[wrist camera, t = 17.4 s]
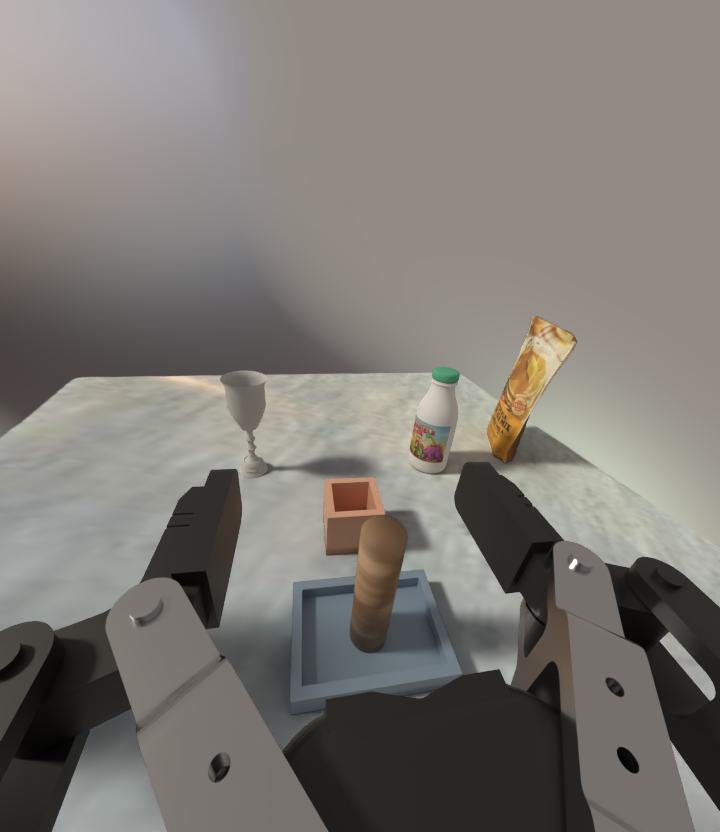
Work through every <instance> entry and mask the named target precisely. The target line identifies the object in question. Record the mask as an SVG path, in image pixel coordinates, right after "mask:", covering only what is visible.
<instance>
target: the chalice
mask: <svg viewBox="0 0 720 832" xmlns="http://www.w3.org/2000/svg"><path fill="white" fill-rule="evenodd" d="M220 380H221V382H222V383H223V385H224V386H225V392H226V399H227V406H228V409H229V411H230V413H231V415H232V417H233V418H234V420H235V421H236V423H237V424H238V425H239V427H240V428H241V429H242V430H245V431H247V437H246V440H247V442H248V446H247V447H246V449H247V450H248V451H249V456H247V457H246V458H245V459H244V460H243V461H242V464H241V467H240V469H239V473H240V474H241V476H243V477H246V478H256V477H259V476H262V475H263V474H265V473H266V471H267V469H268V467H267V465H266V464H265V462H264V461H263V458H261V457H260V456H258V455H255V453H254V451H255V449H256V446H255V445H254V443H253V442H254V440H255V437H254V436H253V433H252V431H253V430H255V429H256V428H257V427H258V425H259V423H260V421H261V418H262V416H263V413H264V410H265V405H266V403H265V390H264V384H265V382H266V380H267V377H266V376H265V375H264V374H262V373H258V372H254V371H235V372H230V373H227V374H225V375H223V376H222V377H221V379H220Z"/></svg>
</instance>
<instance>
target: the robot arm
mask: <svg viewBox="0 0 720 832" xmlns="http://www.w3.org/2000/svg"><path fill="white" fill-rule="evenodd" d="M454 500H455V506H456V509H457V511H458V513H459V514H460V516H461V518H462V520H463V521H464V523H465V525H466V526H467V528H468V530H469V532H470V533H471V535H472V537H473V539H474V540H475V542H476V544H477V545H478V547H479V549H480V551H481V552H482V554H483V556H484V558H485V559H486V561H487V563H488V564H489V566H490V568H491V570H492V571H493V573H494V575H495V576H496V578H497V580H498V582H499V583H500V585H501V587H502V589H503V590H504V592H505V594H507V593H515V592H520V593H521V594H522V596H523V597H524V598H523V600H522V602H521V606H520V623H519V641H518V659H517V666H516V671H515V674H514V676H513V680H512V683H511V685H508V684H506V683H505V681H504V679H503V676H502V674H501V672H500V670H499V669H497V670H492V671H486V672H480V673H475V674H469V675H463V676H459V677H458V678H456V679H454V680H453V681H451V682H449V683H448V684H446V685H444V686H443V687H441V688H439V689H438V690H436V691H434V692H433V693H431V694H429V695H428V696H426V697H424V698H421V699H416V698H410V697H404V696H397V695H391V694H385V693H379V692H373V691H371V692H366V693H360V694H354V695H348V696H343V697H337V698H331V699H326V701H325V712H324V714H323V715H322V716H320V717H318V718H316V719H315V720H313V721H312V722H310V723H309V724H308V725H307V726H305V727H304V728H303V729H302V730H301V731H300V732H299V733H298V734H297V735H296V736H295V737H294V738H293V739H292V740H291V741H290V742H289V743H288V745H287V746H286V747H285V748H284V750H283V751H281V749H280V748H279V746H278V744H277V742H276V741H275V739H274V737H273V736H272V734H271V732H270V730H269V729H268V727H267V725H266V724H265V722H264V720H263V718H262V717H261V715H260V713H259V712H258V710H257V708H256V706H255V705H254V703H253V701H252V700H251V698H250V696H249V694H248V693H247V691H246V689H245V688H244V686H243V684H242V682H241V681H240V679H239V677H238V675H237V674H236V672H235V670H234V669H233V667H232V665H231V664H230V662H229V661H228V660H227V658H226V657H225V656H221V654H220V653H219V652H218V650H217V648H216V647H215V645H214V643H213V641H212V640H211V638H210V636H209V634H208V633H207V631H206V629H210V628H218V627H219V625H220V621H221V616H222V611H223V606H224V601H225V597H226V592H227V587H228V582H229V577H230V572H231V568H232V563H233V558H234V553H235V548H236V544H237V539H238V534H239V529H240V524H241V517H242V502H241V494H240V486H239V478H238V472H237V469H221V470H211V471H210V473H209V476H208V478H207V481H206V483H205V486H204V487H192V488H191V489H190V490H189V491H187V492H186V493H185V494H184V495H183V496H182V497H181V498H180V499H179V501H178V503H177V505H176V507H175V510H174V512H173V516H172V517H171V518H170V520H169V523H168V525H167V529H165V531H164V533H163V535H162V538H161V540H160V542H159V544H158V546H157V548H156V551H155V553H154V555H153V557H152V559H151V561H150V564H149V566H148V568H147V570H146V572H145V574H144V576H143V578H142V580H141V582H140V583H139V584H138V585H136V586H134V587H133V588H131V589H130V590H128V591H127V592H126V593H125V594H123V595H122V596H121V597H120V598H119V599H118V601H117V602H116V603H115V604H114V606H113V607H112V608H111V609H109V610H107V611H106V612H104V613H101V614H99V615H96V616H94V617H91V618H88V619H86V620H83V621H80V622H78V623H75V624H72V625H70V626H67V627H64V628H62V629H59V630H56V631H53V630H52V628H51V627H50V626H49V625H48V624H46V623H43V622H38V621H32V622H25V623H20V624H17V625H14V626H11V627H9V628H7V629H4V630H2V631H0V832H52V829H53V827H54V824H55V821H56V819H57V816H58V813H59V811H60V808H61V805H62V803H63V800H64V798H65V795H66V792H67V790H68V787H69V784H70V782H71V779H72V776H73V774H74V771H75V769H76V766H77V763H78V761H79V758H80V755H81V753H82V750H83V747H84V745H85V742H86V739H87V737H88V734H89V732H90V729H91V728H93V727H95V726H97V725H99V724H101V723H103V722H105V721H107V720H109V719H111V718H113V717H115V716H117V715H119V714H121V713H123V712H125V711H127V710H129V709H131V708H132V711H133V714H134V717H135V721H136V725H137V728H136V734H137V739H138V743H139V746H140V750H141V753H142V756H143V759H144V762H145V765H146V768H147V771H148V774H149V777H150V780H151V784H152V787H153V790H154V793H155V796H156V799H157V802H158V805H159V808H160V811H161V814H162V817H163V820H164V823H165V827H166V830H167V832H695V829H694V826H693V822H692V819H691V815H690V811H689V808H688V804H687V800H686V797H685V793H684V789H683V786H682V782H681V778H680V775H679V771H678V768H677V764H676V760H675V757H674V753H673V749H672V746H671V742H672V743H673V745H674V746H675V748H676V749H677V751H678V752H679V753H680V755H681V756H682V758H683V759H684V761H685V762H686V764H687V765H688V766H689V768H690V769H691V771H692V772H693V774H694V775H695V776H696V778H697V779H698V781H699V782H700V784H701V785H702V786H703V788H704V789H705V791H706V792H707V794H708V795H709V796H710V798H711V799H712V801H713V802H714V804H715V805H716V806H717V808H718V809H719V811H720V607H719V606H718V605H716V604H715V603H714V602H713V601H712V600H711V599H710V598H709V597H708V596H707V595H706V594H705V593H703V592H702V591H701V590H700V589H699V588H698V587H697V586H696V585H695V584H694V583H693V582H691V581H690V580H689V579H688V578H687V577H686V576H685V575H684V574H682V573H681V572H680V571H678V570H677V569H675V568H674V567H672V566H670V565H668V564H666V563H664V562H662V561H660V560H657V559H654V558H649V557H641V558H638V559H637V560H636V561H635V562H634V564H633V565H632V566H631V567H630V568H627V567H622V566H617V565H612V564H607V563H604V562H603V561H602V560H601V559H600V558H599V557H598V556H597V555H596V554H595V553H593V552H592V551H591V550H589V549H588V548H586V547H584V546H582V545H580V544H577V543H574V542H570V541H564V540H563V538H562V537H561V536H560V535H559V534H558V533H557V532H556V531H555V529H554V528H553V527H552V526H551V525H550V524H549V523H548V521H547V520H546V519H545V518H544V517H543V516H542V515H541V513H540V512H539V511H538V510H537V509H536V508H535V507H533V506H532V503H531V502H530V501H529V500H528V499H527V497H524V494H523V493H522V492H521V491H520V489H519V488H518V487H517V486H516V485H515V484H514V483H512V482H511V481H510V480H508V479H507V478H505V477H504V476H502V475H499V474H498V473H497V471H496V470H495V469H494V468H493V467H492V466H491V464H490V463H488V462H467V463H466V464H465V465H464V467H463V469H462V473H461V476H460V479H459V482H458V485H457V488H456V491H455V496H454ZM669 631H670V633H671V634H672V635H673V636H674V637H675V638H676V639H677V640H678V642H679V643H680V644H681V645H682V646H683V647H684V648H685V649H686V651H687V652H688V653H689V654H690V655H691V656H692V657H693V658H694V659H695V661H696V662H697V663H698V664H699V665H700V666H701V667H702V668H703V670H704V671H705V672H706V673H707V674H708V676H709V677H710V678H711V680H712V682H713V684H714V687H715V691H716V695H715V698H714V699H713V700H711V701H709V699H708V698H707V697H706V696H705V695H704V694H703V692H702V691H701V690H700V689H699V688H698V686H697V685H696V684H695V683H694V682H693V680H692V679H691V678H690V677H689V676H688V675H687V673H686V672H685V671H684V670H683V669H682V667H681V666H680V665H679V664H678V663H677V662H676V660H675V659H674V658H673V657H672V656H671V654H670V653H669V652H668V651H667V650H666V649H665V647H664V646H663V645H662V644H661V643H660V640H661V639H662V638H663V637H664V636H665V635H666V634H667V633H668V632H669ZM670 741H671V742H670Z"/></svg>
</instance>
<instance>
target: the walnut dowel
mask: <svg viewBox="0 0 720 832" xmlns="http://www.w3.org/2000/svg"><path fill="white" fill-rule="evenodd" d="M407 539H408V536H407V532H406V529H405V528H404V526H403V525H402V524H401V523H400V522H399V521H397V520H395V519H393V518H391V517H387V516H375V517H372V518H370V519H368V520H367V521H365V523H364V524H363V525H362V528H361V535H360V543H359V552H358V561H357V570H356V579H355V587H354V596H353V605H352V614H351V623H350V638H351V641H352V643H353V644H354V646H355V647H356V648H357V649H358V650H360V651H362V652H364V653H374V652H377V651H378V650H380V649H381V648H382V647H383V645H384V644H385V641H386V637H387V632H388V628H389V623H390V618H391V614H392V609H393V604H394V600H395V595H396V590H397V586H398V581H399V576H400V572H401V567H402V562H403V558H404V553H405V548H406V544H407Z"/></svg>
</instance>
